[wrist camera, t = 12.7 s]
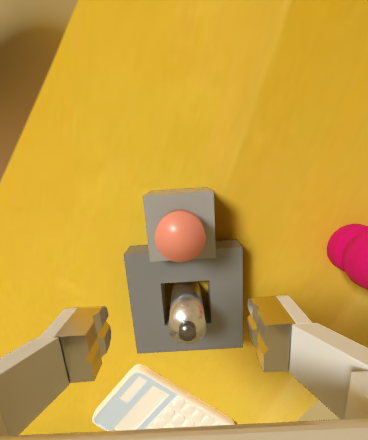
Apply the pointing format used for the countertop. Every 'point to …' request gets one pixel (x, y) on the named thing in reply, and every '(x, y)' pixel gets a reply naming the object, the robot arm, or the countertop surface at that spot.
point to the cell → (186, 313)
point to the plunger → (180, 236)
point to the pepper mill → (351, 252)
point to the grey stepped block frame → (185, 277)
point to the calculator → (154, 405)
